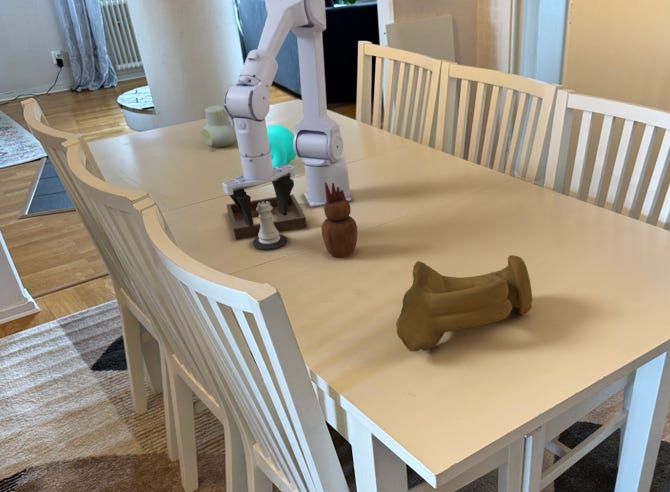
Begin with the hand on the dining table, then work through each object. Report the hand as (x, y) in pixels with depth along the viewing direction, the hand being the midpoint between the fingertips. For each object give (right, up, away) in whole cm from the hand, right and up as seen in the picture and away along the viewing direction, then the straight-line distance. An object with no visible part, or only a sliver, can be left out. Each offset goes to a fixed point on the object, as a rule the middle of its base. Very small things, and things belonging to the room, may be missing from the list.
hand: (266, 219), depth 137 cm
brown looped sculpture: (+38, -23, -26) cm, 51 cm away
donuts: (-6, +21, +39) cm, 45 cm away
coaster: (0, -4, +3) cm, 5 cm away
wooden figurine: (+15, -7, -2) cm, 17 cm away
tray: (-3, +2, +12) cm, 12 cm away
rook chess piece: (0, -4, +3) cm, 5 cm away
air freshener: (-25, +33, +56) cm, 70 cm away
